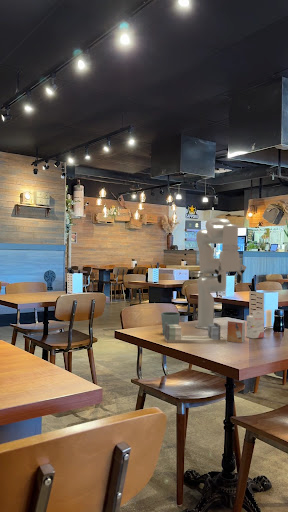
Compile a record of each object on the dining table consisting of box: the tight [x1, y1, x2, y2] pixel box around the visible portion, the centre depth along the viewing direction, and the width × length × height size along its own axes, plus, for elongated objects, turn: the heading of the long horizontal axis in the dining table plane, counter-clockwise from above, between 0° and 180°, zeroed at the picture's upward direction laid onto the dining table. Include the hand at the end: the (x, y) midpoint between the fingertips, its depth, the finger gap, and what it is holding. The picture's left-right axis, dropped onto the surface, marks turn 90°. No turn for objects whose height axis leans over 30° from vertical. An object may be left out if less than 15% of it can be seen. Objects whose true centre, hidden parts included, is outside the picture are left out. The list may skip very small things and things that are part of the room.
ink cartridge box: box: [246, 310, 265, 339], centre depth 231 cm, size 9×5×15 cm, turn 117°
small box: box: [226, 319, 246, 344], centre depth 220 cm, size 8×6×10 cm
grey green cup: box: [160, 311, 181, 336], centre depth 232 cm, size 10×10×12 cm
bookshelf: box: [163, 322, 228, 345], centre depth 216 cm, size 11×30×9 cm, turn 96°
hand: (229, 282), depth 214 cm, fingers open, 9 cm apart
